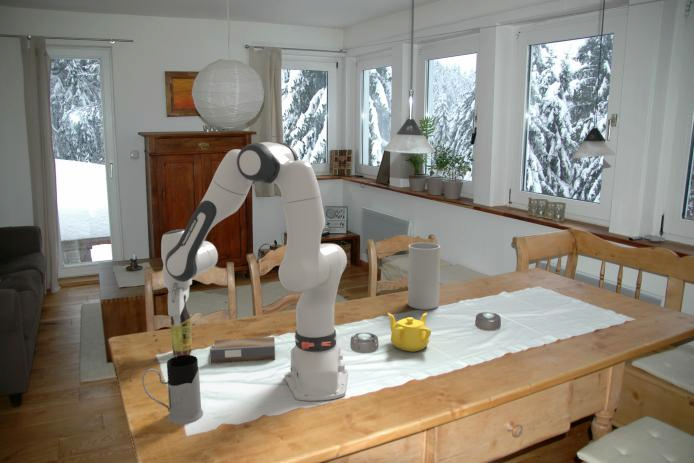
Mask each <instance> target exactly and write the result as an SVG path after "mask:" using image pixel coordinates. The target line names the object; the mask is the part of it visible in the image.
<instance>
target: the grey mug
mask: <svg viewBox="0 0 694 463" xmlns="http://www.w3.org/2000/svg"><path fill="white" fill-rule="evenodd" d="M149 372H155V373H157V375H158V377H159V382H160V384H161V385H167V395H168V405H167V404H166V403H164V402H162V401H160V400H158V399H157V398H155V397H154V396H152V394H150V392H149V391H148V390H147V387H146V385H145V384H146V383H145V380H144V379H145V378H144V377H145V375H146V374H147V373H149ZM166 372H167V381H165V382H164V381H163V380H162V375H161V373H160V371H159V370H157V369H155V368H150V369H149V368H148V369H147V370H146V371H144V372H143V374H142V377H141V378H142V379H141V381H142V383H141V384H142V387H143V389H144V391H145V393H146V394H147V397H149V398H150V399H151V400H153V401H154V402H156V403H158V404H159V405H161V406H163V407H165V408H166V409H167V412H168V413H169V414H168V417H167V419H168V421H169V422H170V423H171V424H175V425H186V424H187V425H188V424H192V423H195V422H197V421H199V420H200V419H201V418H203V416H204V410H203V409H202V401H201V400H202V398H201V387H200V386H201V385H200V384H201V383H200V382H201V381H200V367H199V363H198V357H196V356H195V355H192V354H191V355H190V354H188V355H180V356H173V357H171V358H169V359H168V360H167V361H166Z"/></svg>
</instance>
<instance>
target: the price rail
mask: <svg viewBox="0 0 694 463" xmlns="http://www.w3.org/2000/svg"><path fill="white" fill-rule="evenodd" d="M275 346H276V345H264V346H248V347H231V348H215V349H213V348H210V349H209V353H210V354H209V355H210V360H211V359H223V358H239V357H255V356H270V355H275V356H276V352H275V351H276V350H275V349H276V347H275Z"/></svg>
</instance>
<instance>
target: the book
mask: <svg viewBox="0 0 694 463" xmlns="http://www.w3.org/2000/svg"><path fill="white" fill-rule="evenodd" d="M264 345H275V336H267V337H266V336H265V337H262V336H261V337H248V338H247V337H246V338H230V339H215V340H214V343H213V348H212V349H215V348H231V347H248V346H264ZM275 346H276V345H275ZM273 360H276V354H275V355H270V356H255V357H239V358H223V359H211V358H210V364H211V365H213V364H227V363H230V364H231V363H242V362H243V363H244V362H259V361H273Z"/></svg>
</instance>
